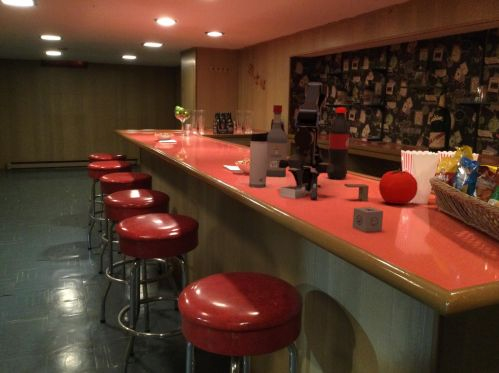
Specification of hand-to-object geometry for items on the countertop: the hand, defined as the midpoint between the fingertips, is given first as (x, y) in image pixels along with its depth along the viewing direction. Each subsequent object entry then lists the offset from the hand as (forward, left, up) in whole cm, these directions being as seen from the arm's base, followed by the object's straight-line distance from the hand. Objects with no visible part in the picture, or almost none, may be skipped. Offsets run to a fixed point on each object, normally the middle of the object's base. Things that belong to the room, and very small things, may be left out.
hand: (304, 190), depth 159 cm
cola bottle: (-41, -8, -1) cm, 42 cm away
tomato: (-6, +30, -1) cm, 31 cm away
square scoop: (+3, 0, -1) cm, 3 cm away
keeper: (-2, +18, -1) cm, 18 cm away
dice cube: (+31, +36, -1) cm, 47 cm away
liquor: (-28, -31, -1) cm, 42 cm away
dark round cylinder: (+8, +8, -1) cm, 11 cm away
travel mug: (0, -20, -1) cm, 20 cm away
